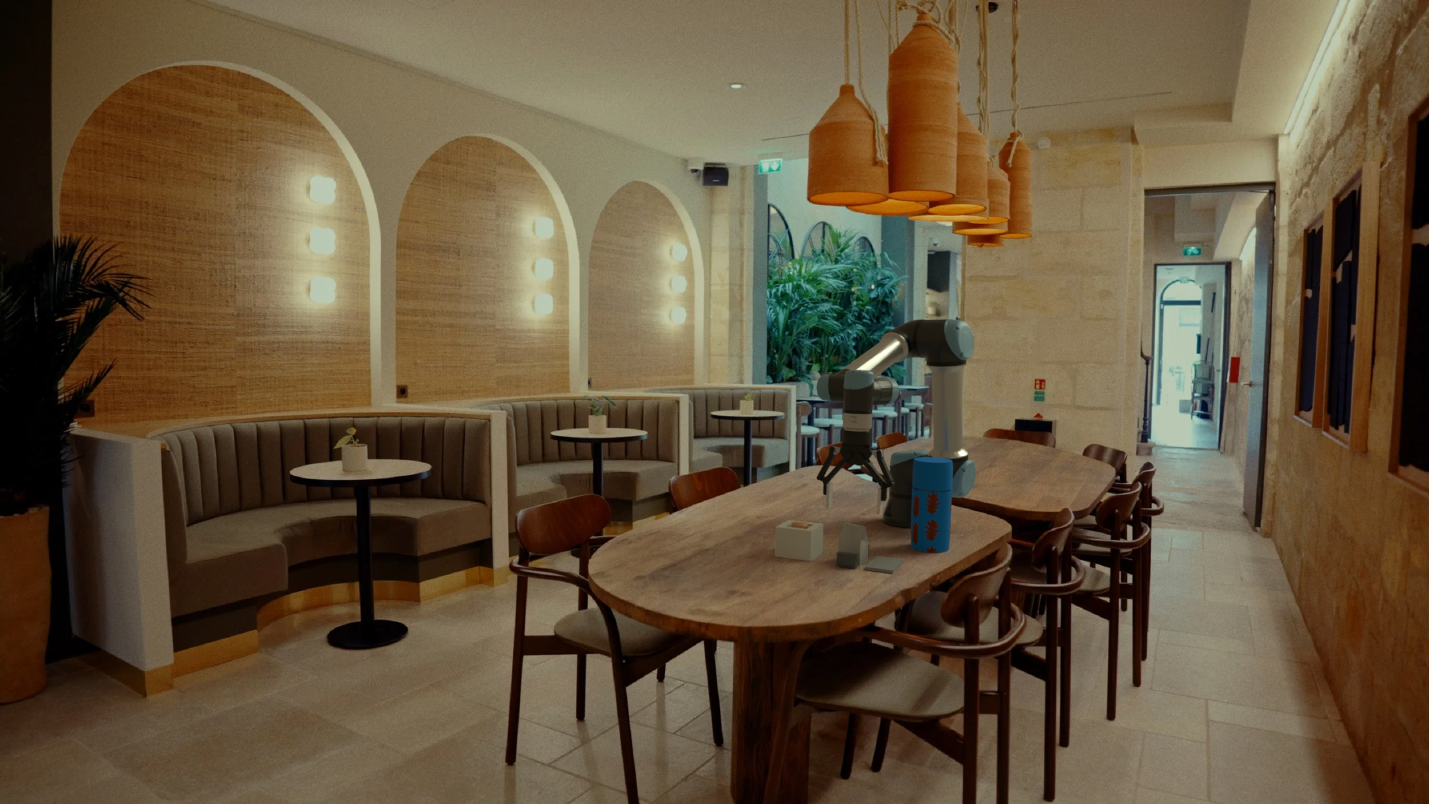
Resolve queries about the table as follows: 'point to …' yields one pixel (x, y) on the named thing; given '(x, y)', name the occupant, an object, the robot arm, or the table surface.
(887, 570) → the mat
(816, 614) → the table surface
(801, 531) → the housing
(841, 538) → the tea bag
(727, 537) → the table surface
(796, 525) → the plunger
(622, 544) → the table surface
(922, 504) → the thermos
